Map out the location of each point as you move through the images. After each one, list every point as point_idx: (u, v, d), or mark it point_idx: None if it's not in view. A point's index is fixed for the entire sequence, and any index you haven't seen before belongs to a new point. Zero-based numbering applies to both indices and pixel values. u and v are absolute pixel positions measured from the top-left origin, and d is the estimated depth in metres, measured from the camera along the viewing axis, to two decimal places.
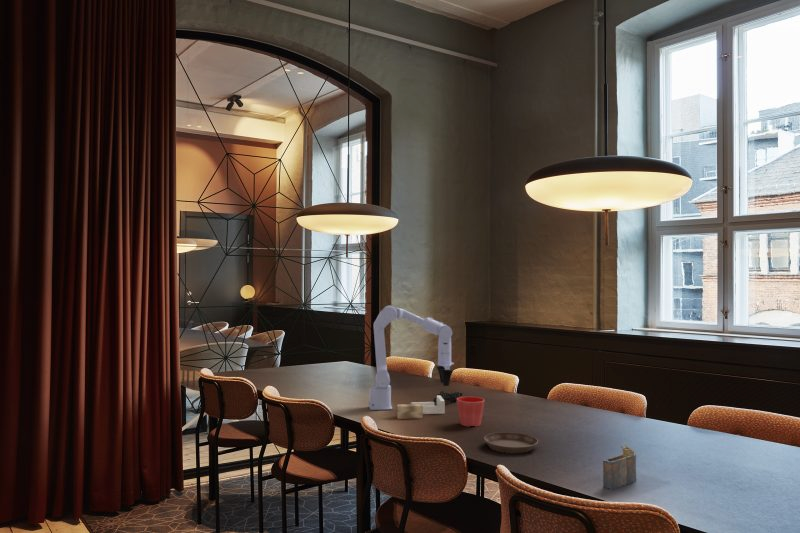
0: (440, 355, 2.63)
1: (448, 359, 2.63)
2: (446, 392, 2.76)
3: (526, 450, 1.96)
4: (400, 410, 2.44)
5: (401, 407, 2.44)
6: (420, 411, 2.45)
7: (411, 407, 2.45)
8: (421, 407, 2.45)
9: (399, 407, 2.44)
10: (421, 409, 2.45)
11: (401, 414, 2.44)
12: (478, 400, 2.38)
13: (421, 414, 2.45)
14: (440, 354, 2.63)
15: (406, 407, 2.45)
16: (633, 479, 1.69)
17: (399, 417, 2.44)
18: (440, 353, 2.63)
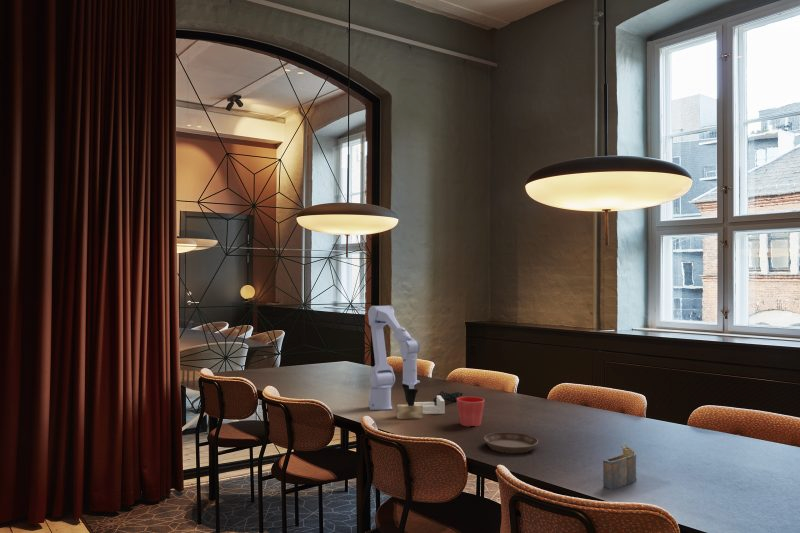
0: (404, 373, 2.45)
1: (413, 377, 2.44)
2: (446, 392, 2.76)
3: (526, 450, 1.96)
4: (400, 410, 2.44)
5: (401, 407, 2.44)
6: (420, 411, 2.45)
7: (411, 407, 2.45)
8: (421, 407, 2.45)
9: (399, 407, 2.44)
10: (421, 409, 2.45)
11: (401, 414, 2.44)
12: (478, 400, 2.38)
13: (421, 414, 2.45)
14: (404, 372, 2.45)
15: (406, 407, 2.45)
16: (633, 479, 1.69)
17: (399, 417, 2.44)
18: (404, 370, 2.45)
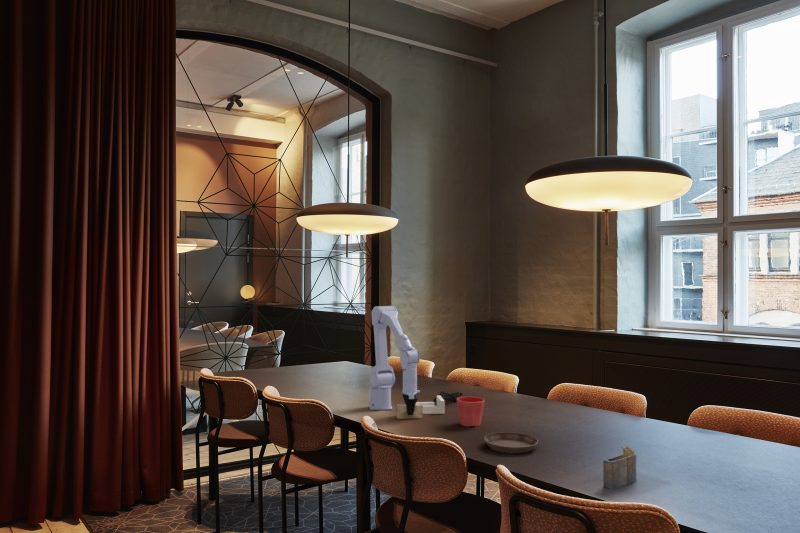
0: (404, 382, 2.45)
1: (413, 387, 2.44)
2: (446, 392, 2.76)
3: (526, 450, 1.96)
4: (399, 409, 2.44)
5: (401, 407, 2.44)
6: (420, 410, 2.45)
7: None
8: (421, 407, 2.45)
9: (399, 407, 2.44)
10: (421, 409, 2.45)
11: (401, 414, 2.44)
12: (478, 400, 2.38)
13: (421, 414, 2.45)
14: (404, 381, 2.45)
15: (406, 407, 2.45)
16: (633, 479, 1.69)
17: (399, 417, 2.44)
18: (404, 380, 2.45)
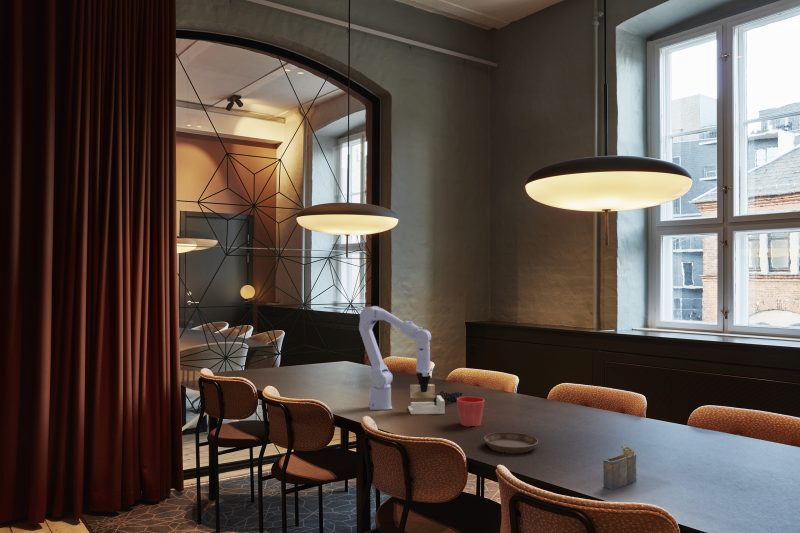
0: (418, 361, 2.56)
1: (426, 365, 2.56)
2: (446, 392, 2.76)
3: (526, 450, 1.96)
4: (413, 389, 2.56)
5: (414, 387, 2.56)
6: (432, 390, 2.56)
7: None
8: (433, 387, 2.56)
9: (412, 387, 2.56)
10: (434, 389, 2.56)
11: (414, 393, 2.56)
12: (478, 400, 2.38)
13: (433, 393, 2.56)
14: (418, 360, 2.56)
15: (419, 387, 2.56)
16: (633, 479, 1.69)
17: (412, 396, 2.55)
18: (418, 359, 2.56)
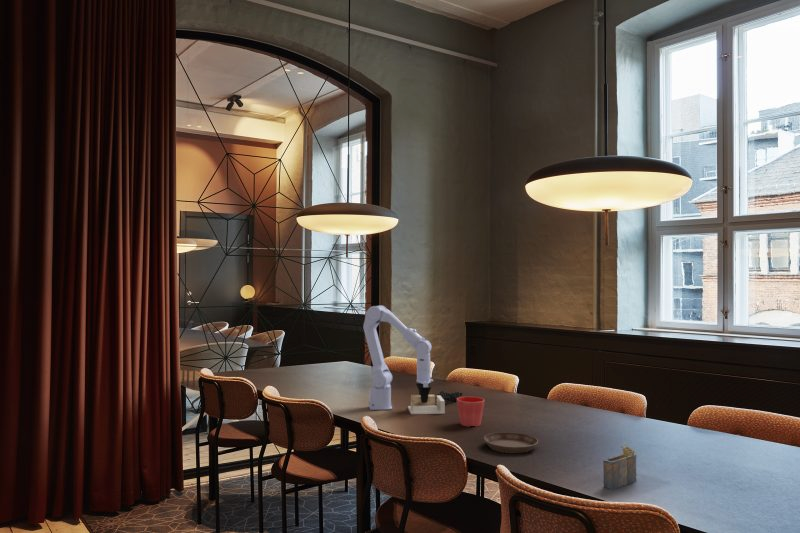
0: (419, 372, 2.56)
1: (427, 376, 2.56)
2: (446, 392, 2.76)
3: (526, 450, 1.96)
4: (413, 400, 2.56)
5: (415, 397, 2.56)
6: (433, 401, 2.57)
7: None
8: (434, 397, 2.57)
9: (413, 397, 2.56)
10: (434, 399, 2.57)
11: (415, 404, 2.56)
12: (478, 400, 2.38)
13: (434, 404, 2.57)
14: (419, 371, 2.56)
15: (419, 397, 2.56)
16: (633, 479, 1.69)
17: None
18: (419, 370, 2.56)
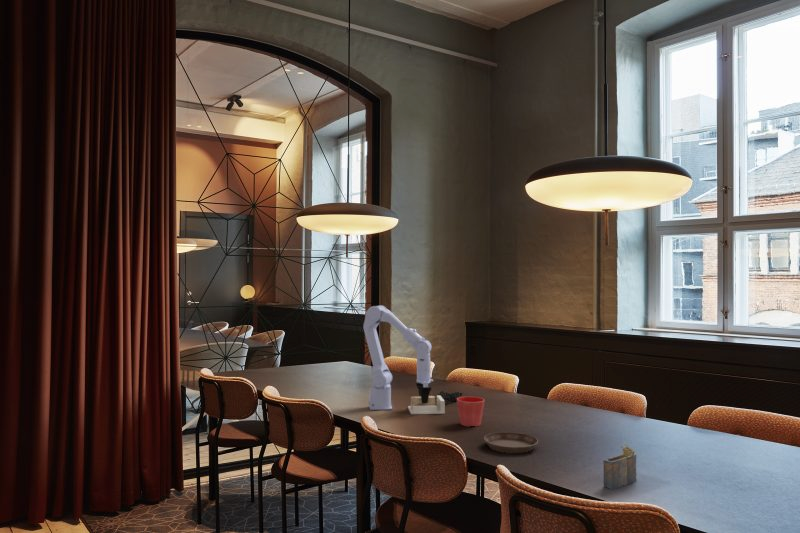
0: (419, 372, 2.56)
1: (427, 376, 2.56)
2: (446, 392, 2.76)
3: (526, 450, 1.96)
4: (413, 401, 2.56)
5: (415, 399, 2.56)
6: (433, 402, 2.57)
7: None
8: (434, 399, 2.57)
9: (413, 399, 2.56)
10: (434, 401, 2.57)
11: (415, 405, 2.56)
12: (478, 400, 2.38)
13: None
14: (419, 371, 2.56)
15: (419, 399, 2.56)
16: (633, 479, 1.69)
17: None
18: (419, 370, 2.56)
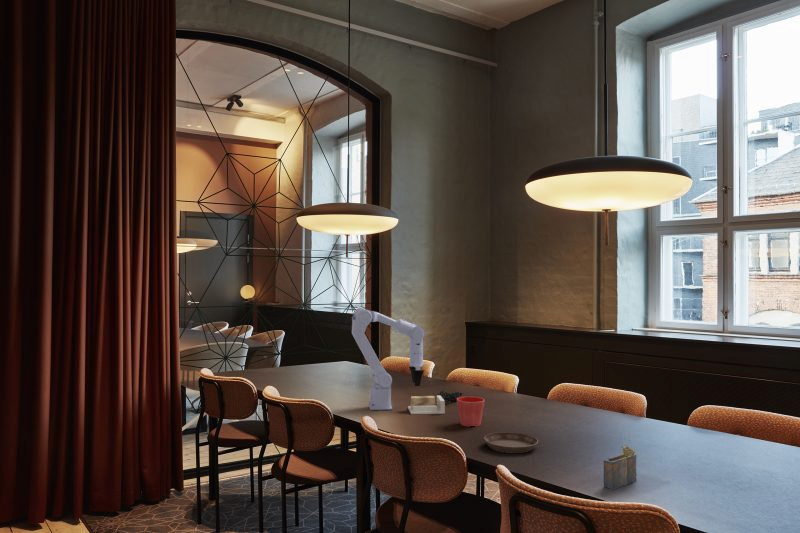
0: (411, 356, 2.66)
1: (419, 359, 2.66)
2: (446, 392, 2.76)
3: (526, 450, 1.96)
4: (413, 401, 2.56)
5: (415, 399, 2.56)
6: (433, 402, 2.57)
7: (424, 399, 2.56)
8: (434, 399, 2.57)
9: (413, 399, 2.56)
10: (434, 401, 2.57)
11: (415, 405, 2.56)
12: (478, 400, 2.38)
13: None
14: (411, 355, 2.66)
15: (419, 399, 2.56)
16: (633, 479, 1.69)
17: None
18: (411, 354, 2.66)
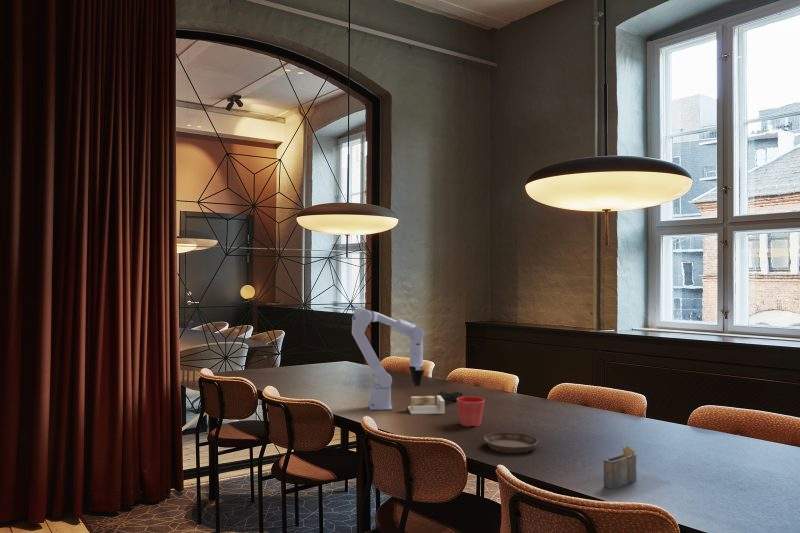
0: (411, 355, 2.66)
1: (419, 359, 2.66)
2: (446, 392, 2.76)
3: (526, 450, 1.96)
4: (413, 401, 2.56)
5: (415, 399, 2.56)
6: (433, 402, 2.57)
7: (424, 399, 2.56)
8: (434, 399, 2.57)
9: (413, 399, 2.56)
10: (434, 401, 2.57)
11: (415, 405, 2.56)
12: (478, 400, 2.38)
13: None
14: (411, 355, 2.66)
15: (419, 399, 2.56)
16: (633, 479, 1.69)
17: None
18: (411, 354, 2.66)
